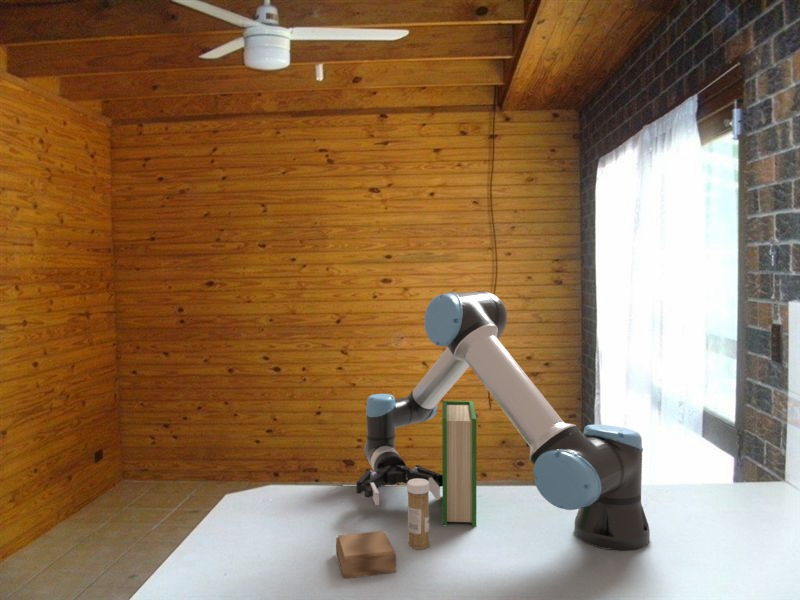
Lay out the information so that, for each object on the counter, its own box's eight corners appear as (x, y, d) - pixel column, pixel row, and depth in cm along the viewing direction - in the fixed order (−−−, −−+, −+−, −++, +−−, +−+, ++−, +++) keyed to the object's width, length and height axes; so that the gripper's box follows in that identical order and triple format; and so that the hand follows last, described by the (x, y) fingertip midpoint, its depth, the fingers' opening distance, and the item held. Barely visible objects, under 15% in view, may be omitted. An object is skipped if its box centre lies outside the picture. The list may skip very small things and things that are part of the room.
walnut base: (385, 548, 129) (385, 529, 129) (396, 572, 119) (395, 551, 119) (336, 554, 127) (336, 534, 126) (343, 578, 117) (342, 557, 117)
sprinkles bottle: (434, 546, 130) (433, 482, 129) (415, 552, 127) (415, 486, 127) (421, 538, 134) (420, 476, 133) (403, 544, 131) (402, 480, 130)
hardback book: (476, 526, 140) (476, 418, 138) (442, 525, 140) (442, 418, 139) (472, 496, 157) (472, 401, 156) (442, 496, 158) (442, 400, 156)
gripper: (436, 476, 162) (462, 507, 141) (338, 484, 156) (351, 518, 135) (436, 447, 161) (462, 474, 140) (338, 454, 156) (351, 484, 135)
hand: (408, 496), depth 138 cm, fingers open, 13 cm apart
